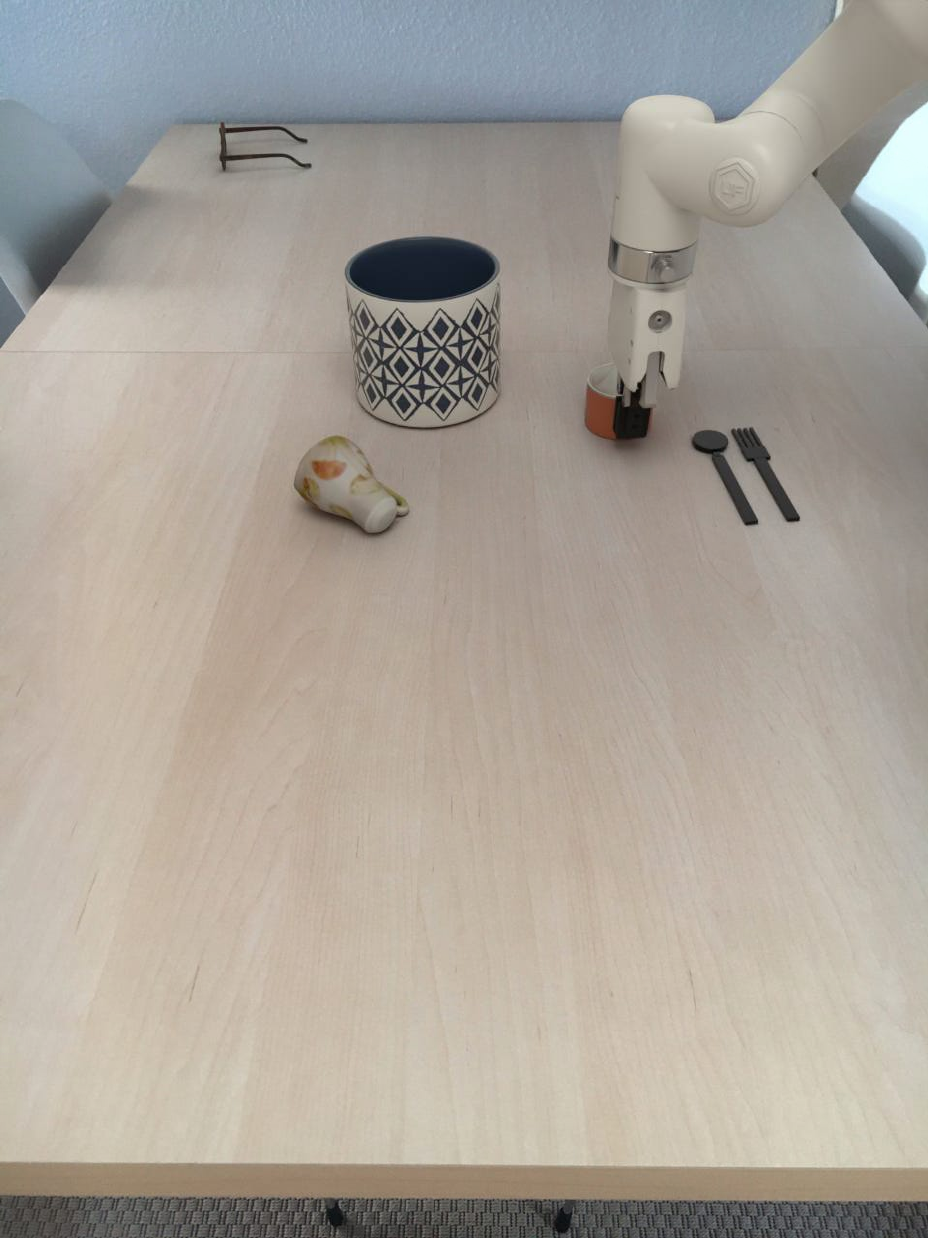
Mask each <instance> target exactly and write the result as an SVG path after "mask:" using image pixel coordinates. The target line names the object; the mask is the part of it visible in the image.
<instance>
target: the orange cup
mask: <svg viewBox="0 0 928 1238" xmlns="http://www.w3.org/2000/svg"><path fill="white" fill-rule="evenodd" d="M617 372H618V369H617V367H616V365H615V363H614V362H612V363H610V362H609V363H605V364H601V365H598V366H597V367H594V368H593V369H592V370H591V371H589V373H588V374H587V375H586V376H587V377H586V393H585V394H586V395H585V407H584V425H585V427H586V428H587V430H589V431H590V432H591V433H593V434H594V435H597V436H598V437H601V438H604V439H608V440H616V441H617V440H618V441H619V440H620V441H623V440H625V441H626V439H617V438H616V436H615V433H614V431H613V429H612V427H613V418H614V409H615V400H616V396H622V394H621V395H618V394H617ZM653 411H654V408H651V412H650V419H649V426H648V431H649V430H650V428H651V426H652V419H653ZM632 439H633V438H631V439H630V440H632Z"/></svg>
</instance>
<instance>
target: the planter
mask: <svg viewBox="0 0 928 1238" xmlns="http://www.w3.org/2000/svg"><path fill="white" fill-rule="evenodd" d="M343 275H344V276H343V277H344V285H345V297H346V305H347V307H346V308H347V316H348V324H349V325H348V326H349V336H350V343H351V352H352V353H351V354H352V363H353V371H354V381H355V390H356V396H357V399H358V402H359V403H360V405H361V406H362V407H363V408H364V410H365V411H367V412H368V413H369V414H371V415H372V416H374V417H376V418H378V419H380V420H382V421H385V422H387V423H390V424H394V425H397V426H403V427H408V428H424V429H425V428H426V429H428V428H440V427H441V428H442V427H446V426H448V427H449V426H452V425H456V424H460V423H463V422H465V421H469V420H471V419H473V418H475V417H477V416H479V415H480V414H482V413H484V412H485V411H487V410H488V409H489V408H490V407H491V406H492V405H493V404H494V402H495V401H496V400H497V398H498V396H499V394H500V389H501V289H502V288H501V287H502V286H501V263H500V260H499V259H498V257H497V256H496V255H495V254H494V253H493V252H492V251H490V250H489V249H488V248H487V247H485V246H482V245H480V244H477V243H475V242H472V241H469V240H465V239H460V238H455V237H448V236H439V235H437V236H433V235H422V236H420V235H419V236H409V237H407V236H405V237H399V238H395V239H390V240H386V241H381V242H379V243H375V244H372V245H371V246H368V247H366V248H364V249H362V250H360V251H359V252H357V253H356V254H355V255H354V256H352V257H351V258H350V259H349V260H348V262H347V263H346V266H345V268H344V272H343Z"/></svg>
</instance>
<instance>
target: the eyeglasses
mask: <svg viewBox="0 0 928 1238" xmlns="http://www.w3.org/2000/svg"><path fill="white" fill-rule="evenodd" d="M259 131H282V132H284V133H286V134H287V135H288V136H289V137H291V138H292V139H294V140H295V141H297V142H300V143H306V144H307V143H308V142H309V141H308V139H307V138H303V137H299V136H297V135H296V134H295V133H294V132H292V131H290V130H289V129H288V128H286V127H283V126H281V125H280V126H279V125H263V126H239V127H237V126H236V127H226V125H225V122H224V121H221V122H220V127H219V128H218V133H219V135H220V143H219V144H220V147H221V148H220V153H219V157H218V160H219V162H221V167H222V170H223V171H226V168H227V162H232V161H233V162H234V161H244V160H245V161H246V160H257V159H269V158H286V159H288V160H290V161H291V162H293V163H294V164H296V165H297V166H298V167H300V168H305V169H307V168H311V167H312V163H310V162H307V163H304V162H303V163H302V162H300V161H299V160H298V159H296V158H295V157H293V156H292V155H290V154H288V153H281V152H280V153H279V152H278V153H277V152H275V153H273V152H272V153H271V152H270V153H248V154H247V153H245V154H228V155H227V151H228V149H227V139H226V138H227V137H226V134H237V133H249V132H259Z"/></svg>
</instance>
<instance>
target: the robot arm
mask: <svg viewBox="0 0 928 1238" xmlns="http://www.w3.org/2000/svg"><path fill="white" fill-rule="evenodd" d="M927 80H928V0H849V1H848V3H847V4H846V5H845V6H844V8H843V9H842V11H840V13H839V14H838V15H837V17H835V19H834V20H833V21H832V22H831V23H830V24H829V25H828V26H827V27H826V28H825V30H824V31H822V33H820V34H819V36H818V37H817V38H816V39H815V40H814V41H813V42H812V43H811V45H809V46H808V47H807V48H806V50H805V51H803V53H802V54H801V55H800V56H799V57H797V58H796V60H795V61H794V62H793V63H792V64H790V66H789V67H788V68H787V69H786V70H785V71H784V72H783V73H782V74H781V75H780V76H779V77H778V78H776V80H775V81H774V82H773V83H772V84H771V85H770V86H769V87H767V89H766V90H765V91H764V92H762V94H761V95H760V96H758V98H756V99H755V100H754V101H753V102H752V103H751V104H750V105H748V106H747V107H746V108H745V109H744V110H742V112H740V113H739V114H738V115H737V116H736V117H735V118H734V117H733V118H731V119H729V120H726V121H722V122H718V123H717V122H716V120H715V115H714V112H713V110H712V108H711V107H710V106H708V104H707V103H705V102H703V101H702V100H699V99H696V98H694V97H690V96H685V95H681V94H680V95H678V94H655V95H650V96H649V95H648V96H645V97H641V98H638V99H636V100H635V101H633V102H632V103H631V104H629V106H628V107H627V108H626V109H625V111H624V113H623V115H622V118H621V121H620V123H621V124H620V127H619V137H618V150H617V160H616V172H615V180H614V181H615V182H614V191H613V192H614V193H613V201H612V202H613V204H612V213H611V222H610V223H611V225H610V235H609V246H608V247H609V248H608V255H607V256H608V257H607V268H606V270H607V271H606V272H607V273H608V275H609V277H611V278H612V280H613V281H612V282H613V283H612V287H611V288H612V289H611V295H610V303H609V304H610V305H609V312H608V322H607V340H606V341H607V347H608V351H609V353H610V356H611V358H612V361H613V363H615V365H616V367H617V369H618V372H617V394H618V395H621V394H622V396H616V400H615V409H614V418H613V427H612V429H613V431H614V433H615V436H616V438H617V439H625V440H632V439H641V438H642V439H644V438H646V437H647V436H648V433H649V430H648V426H649V419H650V412H651V408H653V409H655V408H657V407H658V399H659V383H660V382H659V381H660V376H661V378H662V380H663V382H664V383H665V386H666V387H667V389H668V390H669V389H670V390H676V389H677V388H678V387H679V385H680V380H681V373H682V365H683V364H682V363H683V357H684V347H685V345H684V344H685V336H686V335H685V334H686V325H687V324H686V322H687V306H688V305H687V302H688V301H687V300H688V299H687V297H688V295H687V292H688V291H687V284H686V283H688V282H689V281H690V280H691V279H692V278H693V274H694V269H695V262H696V254H697V250H698V249H697V248H698V241H699V237H700V230H701V225H702V224H701V222H702V217H703V218H705V219H708V220H710V221H712V222H715V223H718V224H721V225H724V226H727V227H731V228H740V229H747V228H753V227H757V226H759V225H762V224H764V223H766V222H768V221H769V220H771V219H772V218H773V217H774V216H776V215H777V214H778V213H779V212H780V211H781V210H782V208H783V207H785V205H786V204H787V203H788V202H789V200H790V199H791V198H792V197H793V196H794V194H795V193H796V192H797V190H798V189H799V188H800V187H801V186H802V185H803V183H805V181H806V180H807V179H808V178H809V177H810V176H811V175H812V174H813V173H814V172H815V170H816V169H818V168H819V166H821V165H822V164H823V163H824V162H825V161H826V160H827V159H828V158H829V157H830V156H831V155H832V154H833V153H835V152H836V151H837V150H838V149H839V148H840V147H842V145H844V144H845V143H846V142H847V140H848V141H849V139H850V138H851V137H852V136H854V134H856V133H857V132H858V131H859V130H860V129H861V128H862V127H863V126H864V125H866V124H867V123H868V122H869V121H870V120H871V119H873V117H875V116H876V115H877V114H878V113H880V112H881V111H882V110H883V109H884V108H885V107H887V106H888V105H889V104H890V103H891V102H893V101H894V100H895V99H897V98H898V97H899V96H900V95H902V94H903V93H904V92H906V91H907V90H909V89H910V88H912V87H914V86H916V85H917V84H920V83H922V82H924V81H927ZM631 438H632V439H631Z"/></svg>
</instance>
